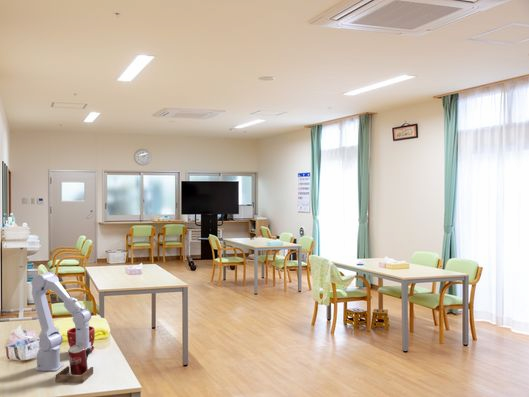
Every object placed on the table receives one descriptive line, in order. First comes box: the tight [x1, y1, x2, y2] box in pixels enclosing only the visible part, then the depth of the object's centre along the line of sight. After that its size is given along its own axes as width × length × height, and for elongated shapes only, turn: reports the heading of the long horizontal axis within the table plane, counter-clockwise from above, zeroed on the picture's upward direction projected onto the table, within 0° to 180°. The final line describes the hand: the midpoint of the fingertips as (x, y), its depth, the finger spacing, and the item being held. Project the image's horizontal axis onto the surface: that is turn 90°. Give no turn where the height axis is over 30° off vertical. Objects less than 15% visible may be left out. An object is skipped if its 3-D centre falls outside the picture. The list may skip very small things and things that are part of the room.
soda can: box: [67, 345, 89, 375], centre depth 245 cm, size 7×7×12 cm
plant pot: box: [66, 325, 96, 353], centre depth 278 cm, size 13×13×12 cm
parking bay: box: [55, 365, 94, 384], centre depth 242 cm, size 12×12×3 cm
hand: (83, 366), depth 250 cm, fingers closed, pressing on soda can
